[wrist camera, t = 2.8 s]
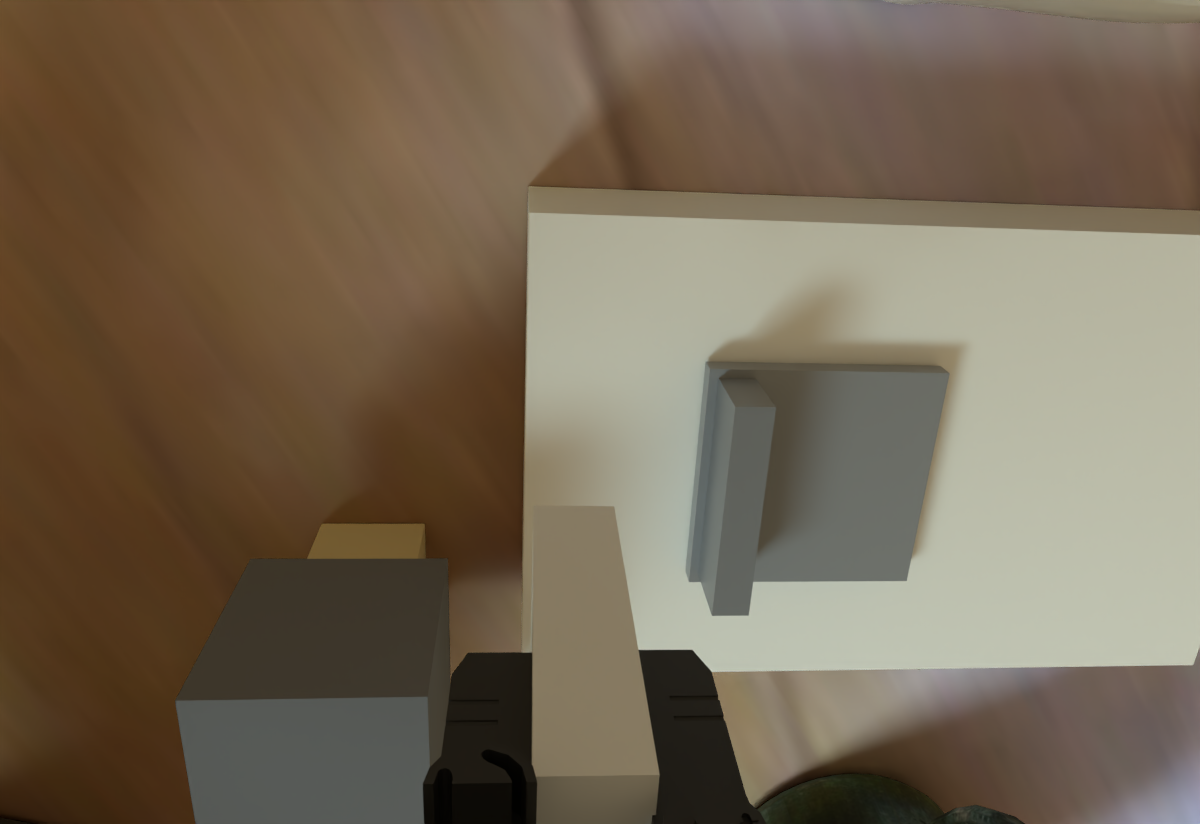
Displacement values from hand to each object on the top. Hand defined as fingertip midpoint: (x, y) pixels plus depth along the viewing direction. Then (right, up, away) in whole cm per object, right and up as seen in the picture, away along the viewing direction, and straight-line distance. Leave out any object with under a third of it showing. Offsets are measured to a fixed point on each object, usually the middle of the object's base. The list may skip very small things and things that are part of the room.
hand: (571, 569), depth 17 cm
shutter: (+6, +1, +8) cm, 11 cm away
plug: (-7, -2, +14) cm, 16 cm away
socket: (+9, +3, +13) cm, 16 cm away
